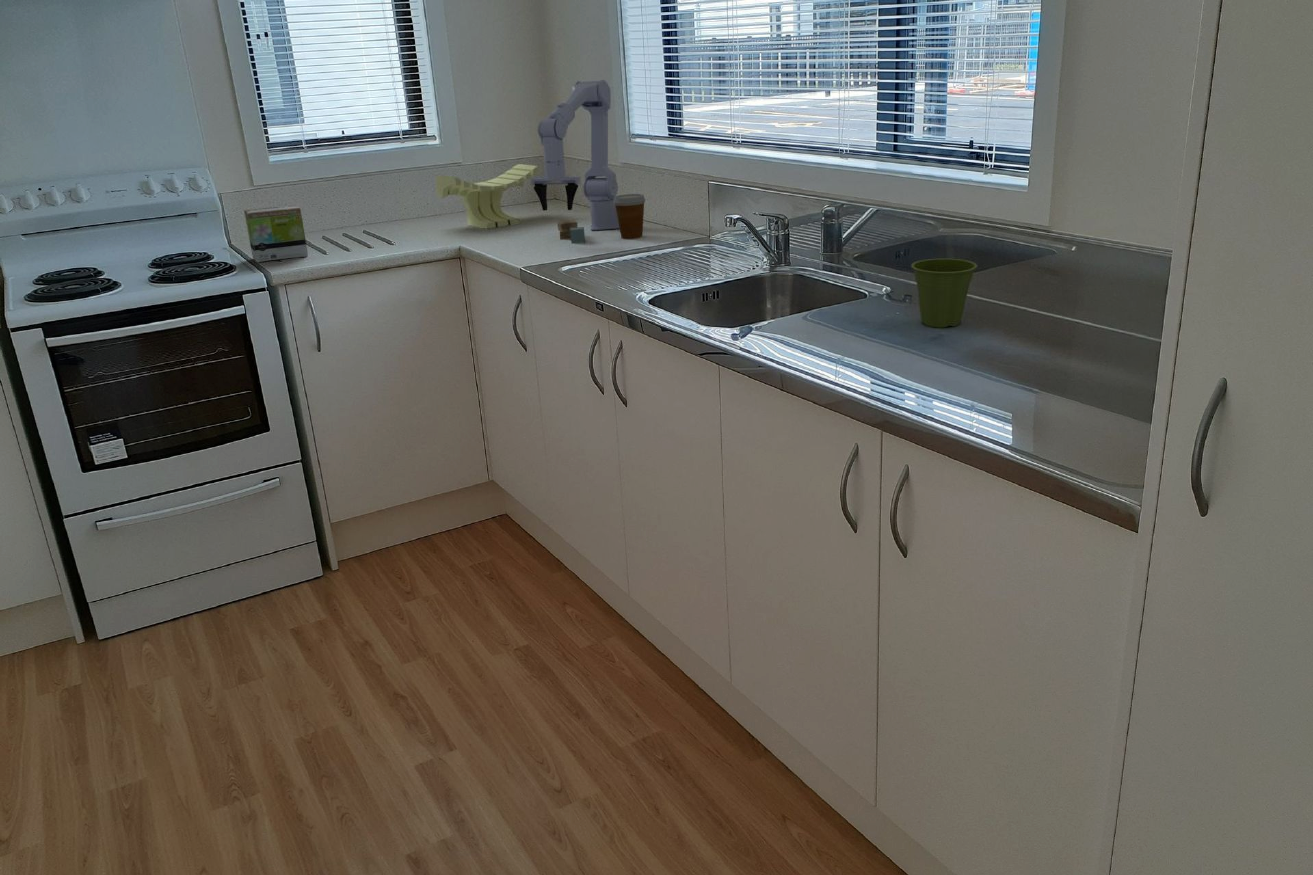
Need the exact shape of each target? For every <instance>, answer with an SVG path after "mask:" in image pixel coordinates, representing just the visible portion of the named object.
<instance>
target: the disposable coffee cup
mask: <svg viewBox="0 0 1313 875" xmlns="http://www.w3.org/2000/svg"><path fill="white" fill-rule="evenodd" d="M613 203H614V205H615V207H616V212H617V218H618V223H619V228H618V229H619V232H620V236H621V237H620V238H621V239H624V240H634V239H639V238H642V237H643V228H644V211H645V203H646V199H645V195H644V194H642V193H627V194H620V195H616V196H615V198H614V201H613Z"/></svg>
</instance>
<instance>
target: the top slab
mask: <svg viewBox="0 0 1313 875" xmlns="http://www.w3.org/2000/svg"><path fill="white" fill-rule="evenodd" d="M575 227H579V226H578V222H577V220H574V219H570V220H560V221H557V230H558V231H559V232H560V231H561V232H569V231H570V228H575Z"/></svg>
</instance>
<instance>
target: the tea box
mask: <svg viewBox="0 0 1313 875" xmlns="http://www.w3.org/2000/svg"><path fill="white" fill-rule="evenodd" d="M302 216H303V215H302V211H301V208H300V207H299V206H297V205H296V204H292V205H291V204H290V205H279V206H278V205H277V206H269V207H261V208H250V209H244V218H245V222H246V224H245V225H246V229H247V234H248V240H249V244H250V245H249V246H250V251H251V255H252V258H253V260H254V261H255V262H256V263H263V262H268V261H276V260H285V259H286V260H287V259H295V258H304V257H305V258H306V257H308V255H309V254H308V246H307V245H308V244H307V240H306V239H307V238H306V235H305V234H306V233H305V228H304V223H303V217H302Z"/></svg>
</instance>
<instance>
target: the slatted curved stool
mask: <svg viewBox="0 0 1313 875" xmlns="http://www.w3.org/2000/svg"><path fill="white" fill-rule="evenodd" d="M538 167H539V166H537V165H532V164H522V163H519V164H516V165H514V166H512V167H511V168H510V169H508V170H506V171H505V172H504V173H502V174H500V175H498V176H497V177H493V179H492V178H491V179H489V180H485V181H481V182H473V183H471V182H468V181H466V180H461V179H460V178H458V177H456V176H454V175H453V176H451V175H445V174H444V175H443V174H437V175H436V177H435V189H436V195H437V198H442V199H444V198H447V197H449V196H455V195H456V196H458V197H460V198H461V201H462V204H463V205H464V208H465V211H466V219H467V225H468V226H469V225H471V226H470V227H474V226H475V227H474V228H478V227H479V228H478V229H483V228H485V229H484V230H488V229H487V228H490V229H494V228H501V227H500V226H502V227H506V226H505V225H508V226H509V225H510V226H513V224H514V225H518V224H517V223H520V224H521V222H520V220H519V218H517V217H514V216H510V215H508V214H507V213H505V212H504V211H503V210H502V209H501V201H502V197H503V195H504V194H503V192H505V191H507V190H509V189H510V188H514V187H515V188H516V187H524V183H525V180H529V179H530V180H531V178H532V176H537V175H538V176H539V170H538Z"/></svg>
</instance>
